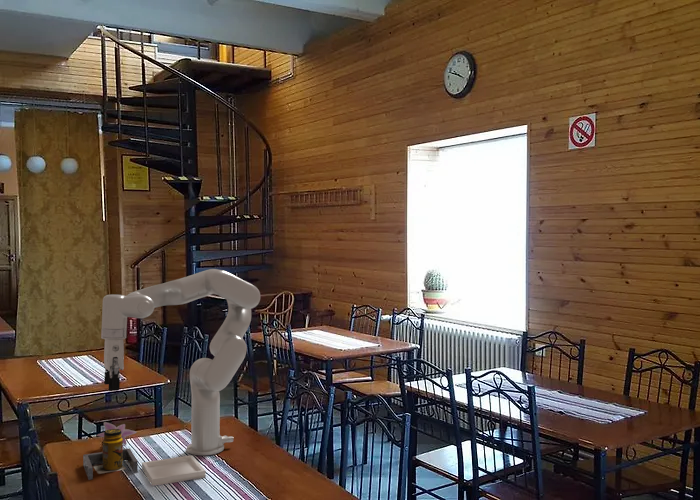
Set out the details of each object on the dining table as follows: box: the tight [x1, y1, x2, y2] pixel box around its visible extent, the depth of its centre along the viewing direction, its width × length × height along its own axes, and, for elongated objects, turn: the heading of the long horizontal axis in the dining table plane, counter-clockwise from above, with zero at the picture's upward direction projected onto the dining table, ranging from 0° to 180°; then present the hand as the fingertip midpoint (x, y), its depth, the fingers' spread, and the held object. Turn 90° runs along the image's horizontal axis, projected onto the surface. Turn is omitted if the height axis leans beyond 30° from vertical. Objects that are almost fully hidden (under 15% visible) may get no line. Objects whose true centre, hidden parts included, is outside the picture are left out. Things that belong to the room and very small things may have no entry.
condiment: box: [92, 429, 127, 475], centre depth 213 cm, size 7×8×12 cm
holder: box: [82, 447, 139, 481], centre depth 212 cm, size 14×14×4 cm
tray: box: [141, 454, 207, 487], centre depth 209 cm, size 16×16×2 cm
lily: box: [96, 421, 138, 445], centre depth 232 cm, size 12×12×10 cm
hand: (111, 387), depth 213 cm, fingers open, 9 cm apart
